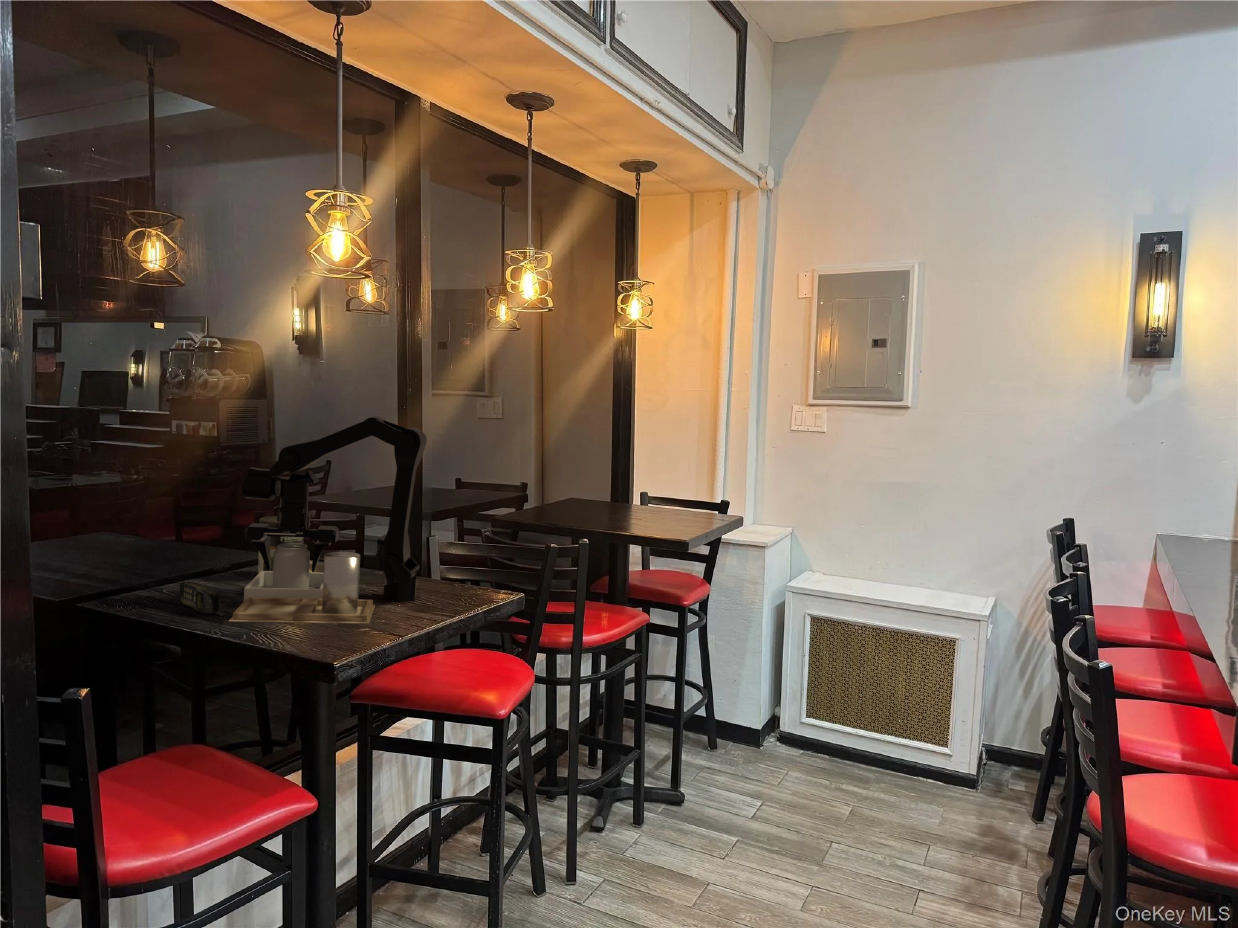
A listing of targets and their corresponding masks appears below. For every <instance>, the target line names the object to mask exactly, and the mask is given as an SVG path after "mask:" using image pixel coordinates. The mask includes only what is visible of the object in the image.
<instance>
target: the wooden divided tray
mask: <svg viewBox="0 0 1238 928" xmlns="http://www.w3.org/2000/svg"><path fill="white" fill-rule="evenodd" d="M375 606H376V603H374V600H373V599H358V612H357V614H322V599H311V598H264V597H248V598H247V599H246V600H245V601H244V600H243V602H242V603H241V604H240V605H239V606H238V607H237V608H236V609H235V611H233V613H232V617H231V618H230V619H229V620H228V622H248V623H249V622H251V623H252V622H253V623H255V622H256V623H262V622H263V623H267V622H268V623H311V624H312V623H315V624H316V623H319V624H321V623H323V624H324V623H327V624H370V622H371V619H372V616H373V613H374V610H375Z"/></svg>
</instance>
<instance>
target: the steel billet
mask: <svg viewBox="0 0 1238 928" xmlns="http://www.w3.org/2000/svg"><path fill="white" fill-rule="evenodd" d="M323 555H324V556H323V572H322V573H323V592H322V614H357V612H358V600H359V589H360V571H361V569H360V568H361V566H360V565H361V554H360V553H357V552H351V551H333V552H328V553H325V554H323Z"/></svg>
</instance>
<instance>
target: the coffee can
mask: <svg viewBox="0 0 1238 928" xmlns="http://www.w3.org/2000/svg"><path fill="white" fill-rule="evenodd" d="M258 523H263V524H269V526H270V528H279V522H278V521H277V515H269V516H264V517H260V518H259V519H258ZM283 533H289V531H283ZM297 534H303V533H297ZM268 537H271V540H270V554H271V570H270V571H273V555H274V551H275V550H276V549H277V548H278V547H277V545H279V544H284V543H301V544H305V543H304V541H305V539H304V538H305V537H277V536H268ZM257 559H258V561H257V562H258V563H257V575H258V574H259V573H260V572H261V571H268V570H267V568H266V565H265V563H264V560H263V558H262V555H261V553H260V552H259V551H258V558H257Z"/></svg>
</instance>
